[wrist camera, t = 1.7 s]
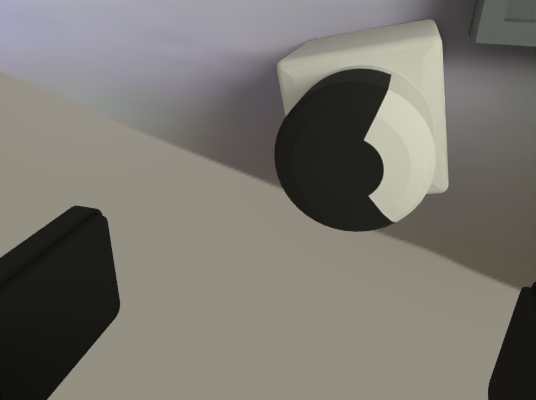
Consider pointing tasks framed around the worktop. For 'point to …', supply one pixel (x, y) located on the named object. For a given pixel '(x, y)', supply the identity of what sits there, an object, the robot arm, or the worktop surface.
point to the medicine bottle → (363, 125)
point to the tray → (504, 22)
